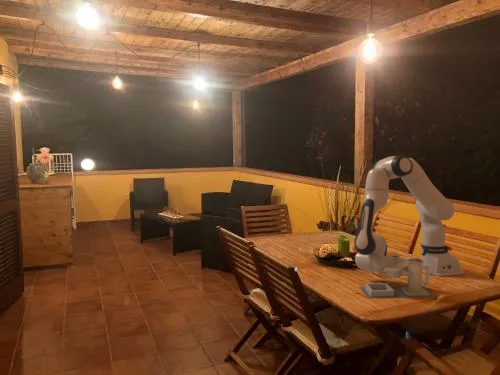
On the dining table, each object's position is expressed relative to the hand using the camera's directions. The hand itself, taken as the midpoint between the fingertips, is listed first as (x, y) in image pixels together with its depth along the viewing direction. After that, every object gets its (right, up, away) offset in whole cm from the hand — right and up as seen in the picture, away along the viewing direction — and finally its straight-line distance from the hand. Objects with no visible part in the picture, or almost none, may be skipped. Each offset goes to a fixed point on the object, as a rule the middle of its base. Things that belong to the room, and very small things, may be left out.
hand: (417, 271), depth 188 cm
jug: (+1, -9, +1) cm, 9 cm away
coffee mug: (0, -5, +54) cm, 55 cm away
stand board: (-8, -11, +2) cm, 14 cm away
